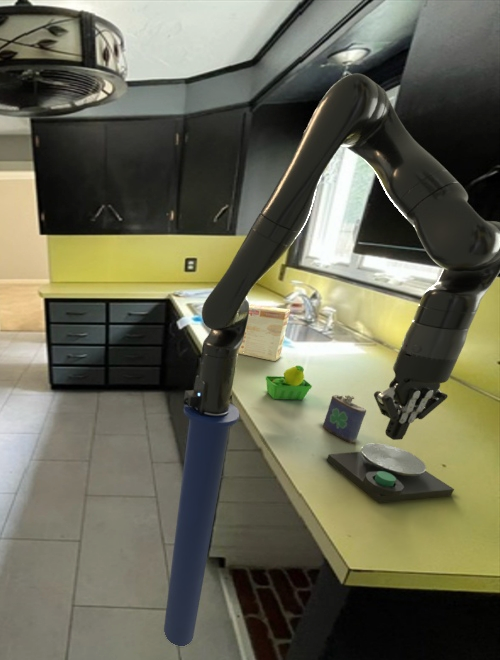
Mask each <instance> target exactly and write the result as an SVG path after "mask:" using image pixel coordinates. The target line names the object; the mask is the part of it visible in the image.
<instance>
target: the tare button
mask: <svg viewBox="0 0 500 660" xmlns="http://www.w3.org/2000/svg"><path fill="white" fill-rule="evenodd" d="M374 480H375V481H376V482H377V483H379V484H381V485H383V486H387V487H393V485H394V483H395V480H396V478H395V477H394V476H393V475H392V474H390V473H387V472H383V471H379V472H377V474H376V476H375V479H374Z"/></svg>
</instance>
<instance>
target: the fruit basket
mask: <svg viewBox="0 0 500 660" xmlns="http://www.w3.org/2000/svg"><path fill="white" fill-rule="evenodd" d="M304 371H305V370H304V367H303V366H301V365H294V366H292V367H290V368H288V369H286V370H285V371H284V373H283V376H278V375H277V376H276V375H275V376H274V375H273V376H272V375H266V376H265V381H266V382H265V383H266V392H267V393H268V394H269V396H271V398H272V399H273V400H298V401H302V400H304V398H305V397H306V395H308V392H309V391H310V390H311V388H312V387H313V385H312V384H310V382H308V381H307V380H306V379H305V373H304Z"/></svg>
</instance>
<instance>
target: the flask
mask: <svg viewBox="0 0 500 660" xmlns="http://www.w3.org/2000/svg"><path fill="white" fill-rule="evenodd" d="M353 400H355V397H354V395H351V396H350V395H347V394H346V395H337V394H334V395H332V396H331V399H330V402H329V405H328V409H327V412H326V415H325V418H324V421H323V424H322V427H323V428H324V429H325V430H326V431H327V432H329V433H330V434H332V435H334V436H336V437H338V438H339V439H341V440H342V441H344V442H347V443H349V444H355V443H356V442H357V439H358V436H359V433H360V430H361V427H362V424H363V422H364V418H365V416H366V414H367V409H366V408H364V407H362V406H359V405H358V404H355V403H353Z"/></svg>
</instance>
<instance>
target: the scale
mask: <svg viewBox="0 0 500 660" xmlns="http://www.w3.org/2000/svg"><path fill="white" fill-rule="evenodd" d="M326 461H327V462H329V464H331V465H332V466H333V467H334V468H336V469H337V470H338V471H339V472H340V473H342V474H343V475H344V476H346V477H347V478H348V479H349V480H350V481H352V482H353V483H354V484H355V485H357V487H358V488H360V489H362V490H363V491H364V493H366V494H367V495H369V496H370V497H371V498H372V499H373V500H374V501H376V503H378V504H381V503H392V502H400V501H401V502H402V501H411V500H421V499H431V498H432V499H433V498H440V497H441V498H442V497H450V496H451V497H452V495H453V493H454V491H455V488H454V487H452V486H450V485H448V484H447V483H445V482H444V481H442V480H441V479H440V478H437V477H436V476H435V475H433V474H431V473H430V472H429V471H427V470H425V472H424V473H423V474H422V475H419V476H404V475H399V474H395V473H391V472H388V471H385V470H383V469H380V468H378V467H376V466H374V465H373V464H371V463H370V462H368V461H367V460H366V459H365V458H364V457H363V456H362V455H361V451H352V452H351V451H350V452H339V453H338V452H337V453H328V455H327V458H326ZM379 471H383V472H387V473H390V474H392V475H393V476H394V477H395V478H396V480H395V483H394V485H393V487H387V486H383V485H381V484H379V483H377V482H376V481H375V480H374V479H375V476H376V474H377V472H379Z"/></svg>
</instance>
